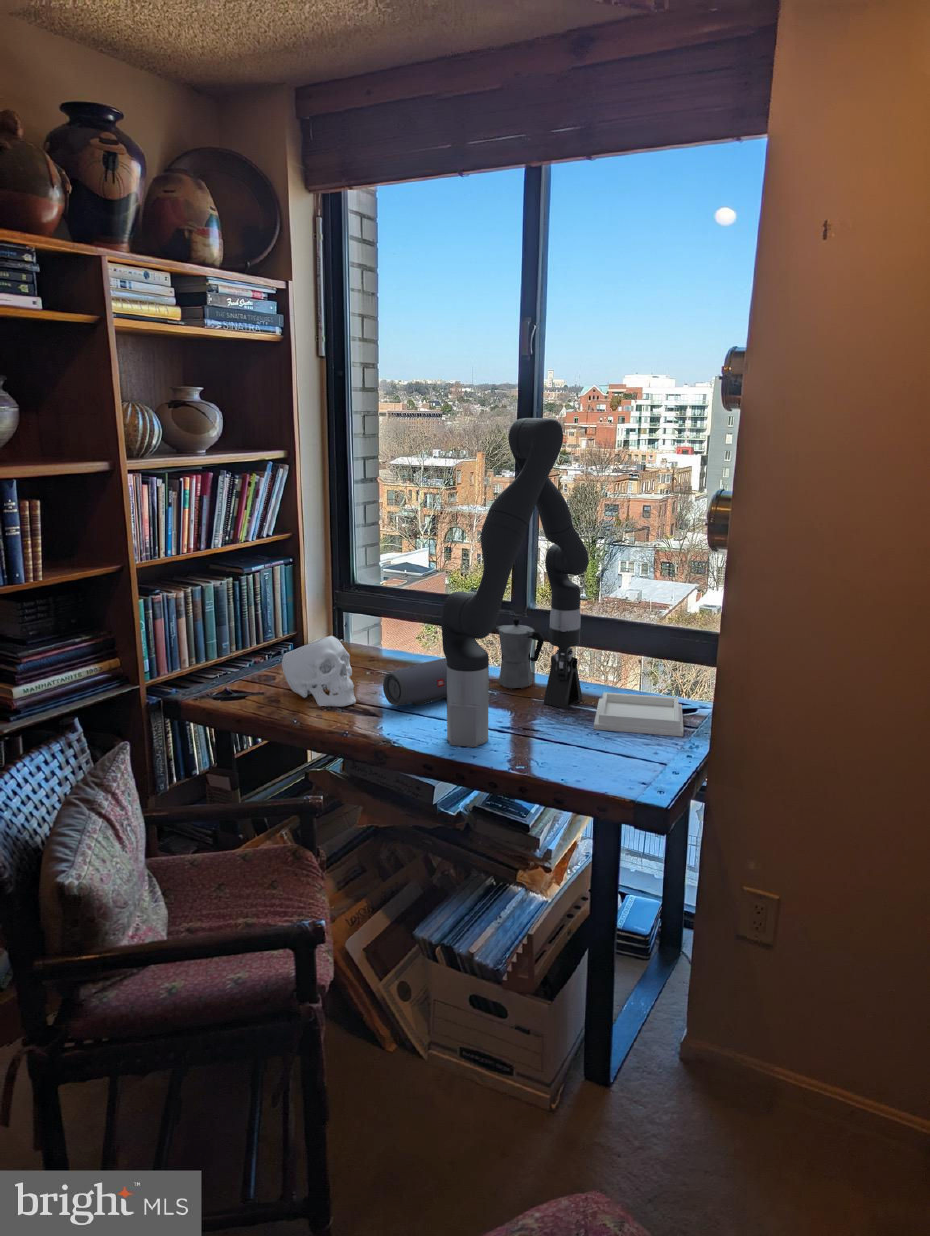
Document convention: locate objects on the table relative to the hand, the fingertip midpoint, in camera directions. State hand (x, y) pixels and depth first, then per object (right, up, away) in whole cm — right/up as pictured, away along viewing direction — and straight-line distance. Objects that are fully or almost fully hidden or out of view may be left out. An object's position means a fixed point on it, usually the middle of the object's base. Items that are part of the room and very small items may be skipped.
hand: (563, 691), depth 211 cm
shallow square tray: (+17, -5, -11) cm, 21 cm away
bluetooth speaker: (-34, -2, +2) cm, 34 cm away
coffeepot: (-10, +1, +14) cm, 17 cm away
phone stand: (0, -3, +1) cm, 3 cm away
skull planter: (-61, -2, +4) cm, 61 cm away
